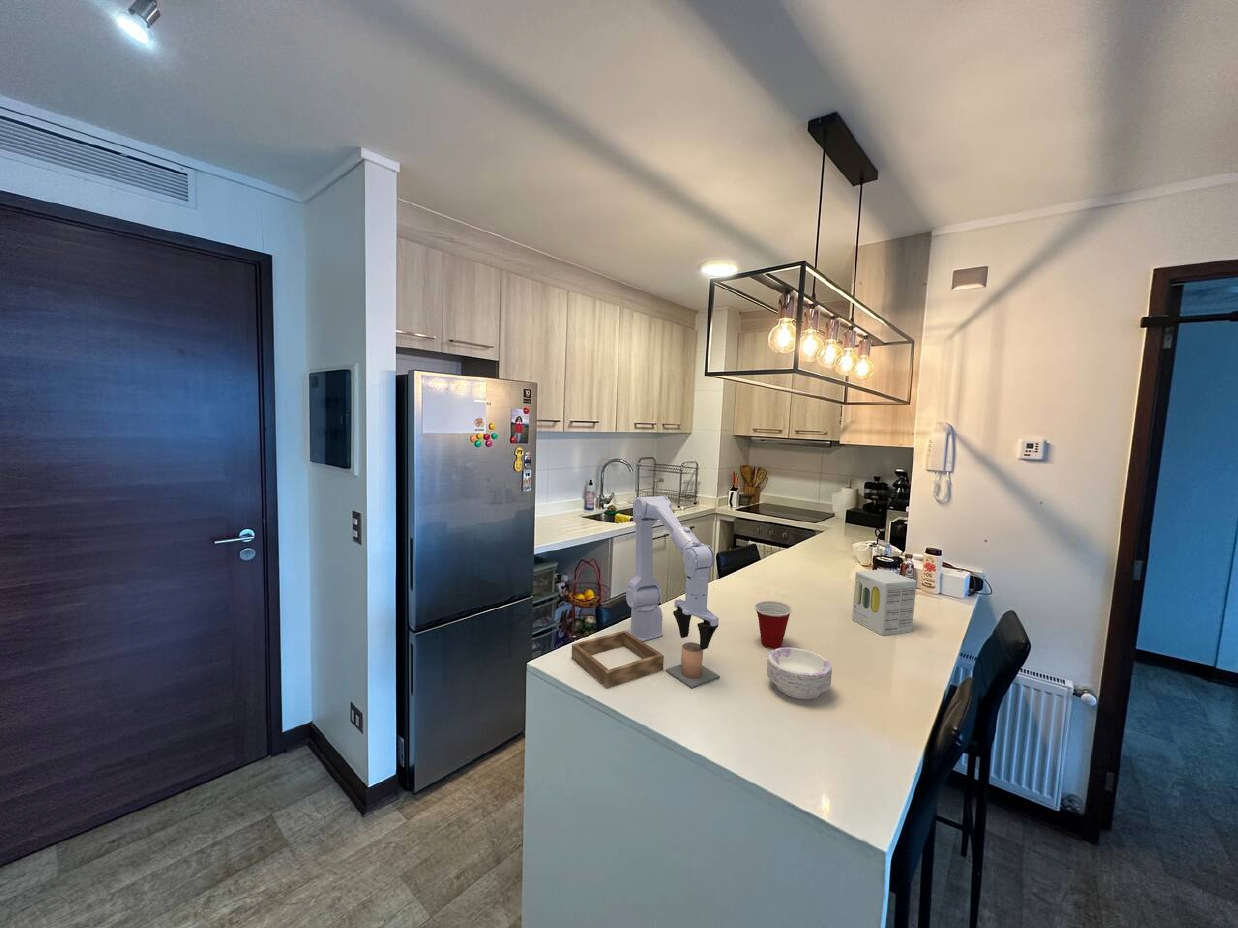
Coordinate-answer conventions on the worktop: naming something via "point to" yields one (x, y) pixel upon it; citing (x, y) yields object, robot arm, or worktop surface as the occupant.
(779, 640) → the plastic cup
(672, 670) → the slate pad
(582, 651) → the brown wooden square frame
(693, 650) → the terracotta pot
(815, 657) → the paper bowls
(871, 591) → the supplement box
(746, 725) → the worktop surface
